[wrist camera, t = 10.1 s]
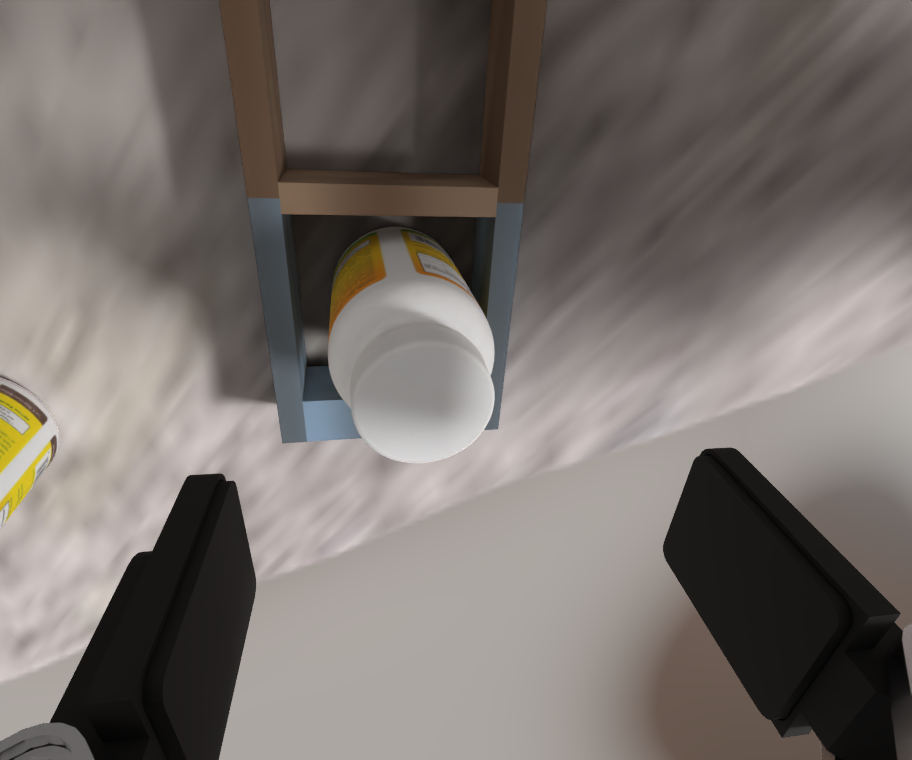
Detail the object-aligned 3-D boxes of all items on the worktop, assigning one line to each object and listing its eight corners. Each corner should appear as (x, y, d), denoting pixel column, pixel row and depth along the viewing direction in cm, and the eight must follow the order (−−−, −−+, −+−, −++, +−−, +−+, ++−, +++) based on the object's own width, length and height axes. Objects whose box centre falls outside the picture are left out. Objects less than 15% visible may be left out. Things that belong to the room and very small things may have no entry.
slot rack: (533, -145, 16) (568, -188, 13) (482, 394, 26) (498, 429, 23) (211, -194, 14) (182, -254, 12) (289, 405, 24) (282, 443, 21)
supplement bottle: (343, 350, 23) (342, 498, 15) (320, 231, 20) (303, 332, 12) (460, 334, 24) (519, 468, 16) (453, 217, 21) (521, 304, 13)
